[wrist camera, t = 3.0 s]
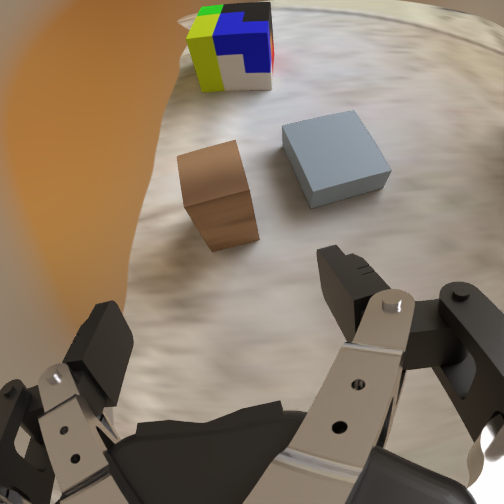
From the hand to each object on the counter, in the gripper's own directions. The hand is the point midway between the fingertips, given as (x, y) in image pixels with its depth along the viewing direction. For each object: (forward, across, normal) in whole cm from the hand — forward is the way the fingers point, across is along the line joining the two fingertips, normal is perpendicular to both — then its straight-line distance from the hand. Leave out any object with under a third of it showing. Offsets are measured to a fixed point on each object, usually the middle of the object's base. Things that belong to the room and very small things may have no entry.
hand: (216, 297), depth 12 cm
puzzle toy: (+39, -7, -13) cm, 42 cm away
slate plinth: (+24, -13, +2) cm, 28 cm away
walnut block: (+21, 0, +5) cm, 22 cm away
